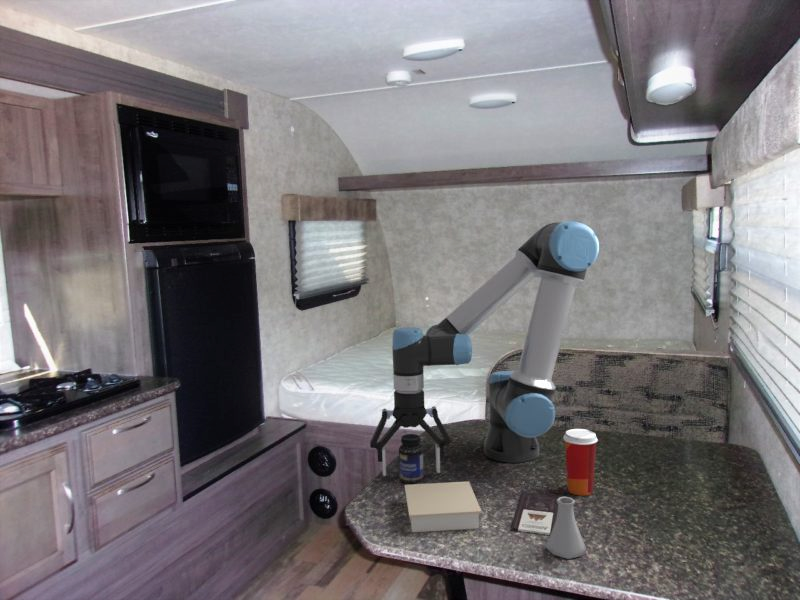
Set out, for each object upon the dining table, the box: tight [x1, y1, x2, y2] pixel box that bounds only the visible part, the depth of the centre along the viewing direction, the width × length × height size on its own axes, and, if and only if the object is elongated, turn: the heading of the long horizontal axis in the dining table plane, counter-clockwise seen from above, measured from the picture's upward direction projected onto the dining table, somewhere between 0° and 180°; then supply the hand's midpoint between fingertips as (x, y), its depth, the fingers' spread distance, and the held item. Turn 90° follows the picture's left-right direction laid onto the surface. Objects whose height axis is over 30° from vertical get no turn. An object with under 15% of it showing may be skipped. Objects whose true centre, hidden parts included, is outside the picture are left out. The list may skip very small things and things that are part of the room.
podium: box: [404, 481, 482, 533], centre depth 130 cm, size 15×15×4 cm
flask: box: [545, 495, 587, 560], centre depth 114 cm, size 7×7×10 cm
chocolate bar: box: [511, 491, 563, 536], centre depth 130 cm, size 9×1×18 cm
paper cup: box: [563, 428, 599, 497], centre depth 139 cm, size 8×8×14 cm
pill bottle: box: [398, 433, 424, 484], centre depth 149 cm, size 6×6×11 cm
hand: (411, 472), depth 150 cm, fingers open, 13 cm apart
